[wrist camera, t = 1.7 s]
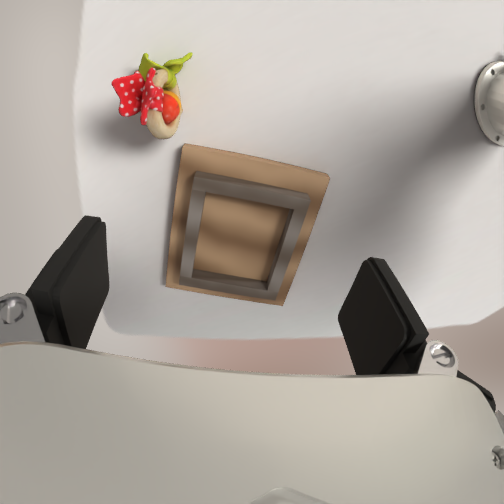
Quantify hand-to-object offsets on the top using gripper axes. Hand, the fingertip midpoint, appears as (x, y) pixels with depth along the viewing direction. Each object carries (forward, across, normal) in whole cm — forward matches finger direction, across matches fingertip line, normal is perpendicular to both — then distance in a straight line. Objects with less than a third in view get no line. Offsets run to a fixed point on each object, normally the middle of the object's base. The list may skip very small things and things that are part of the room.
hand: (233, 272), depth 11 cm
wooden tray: (+27, -3, +13) cm, 30 cm away
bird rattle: (+27, +7, -3) cm, 28 cm away
